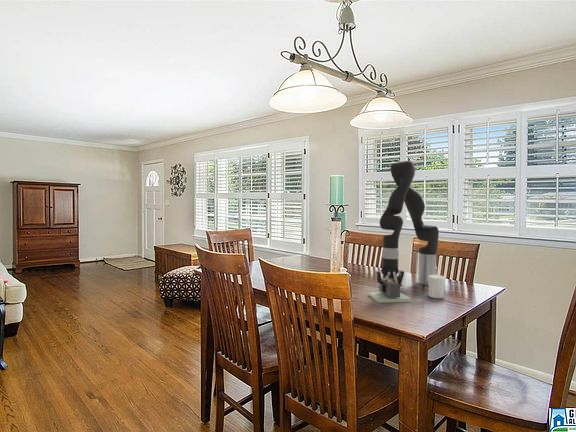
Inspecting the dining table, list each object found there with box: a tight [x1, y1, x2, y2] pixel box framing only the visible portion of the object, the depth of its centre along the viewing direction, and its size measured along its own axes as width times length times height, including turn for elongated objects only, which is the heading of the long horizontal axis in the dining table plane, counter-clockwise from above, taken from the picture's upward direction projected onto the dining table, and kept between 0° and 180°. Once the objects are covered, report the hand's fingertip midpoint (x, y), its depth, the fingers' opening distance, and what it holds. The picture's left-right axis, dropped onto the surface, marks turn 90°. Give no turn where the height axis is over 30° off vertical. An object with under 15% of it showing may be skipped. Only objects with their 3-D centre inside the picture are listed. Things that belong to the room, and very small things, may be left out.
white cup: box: [427, 274, 447, 299], centre depth 178 cm, size 8×8×10 cm
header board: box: [368, 291, 412, 304], centre depth 174 cm, size 16×12×4 cm
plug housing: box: [378, 278, 401, 298], centre depth 174 cm, size 5×12×6 cm, turn 9°
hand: (389, 292), depth 174 cm, fingers closed on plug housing, 4 cm apart
